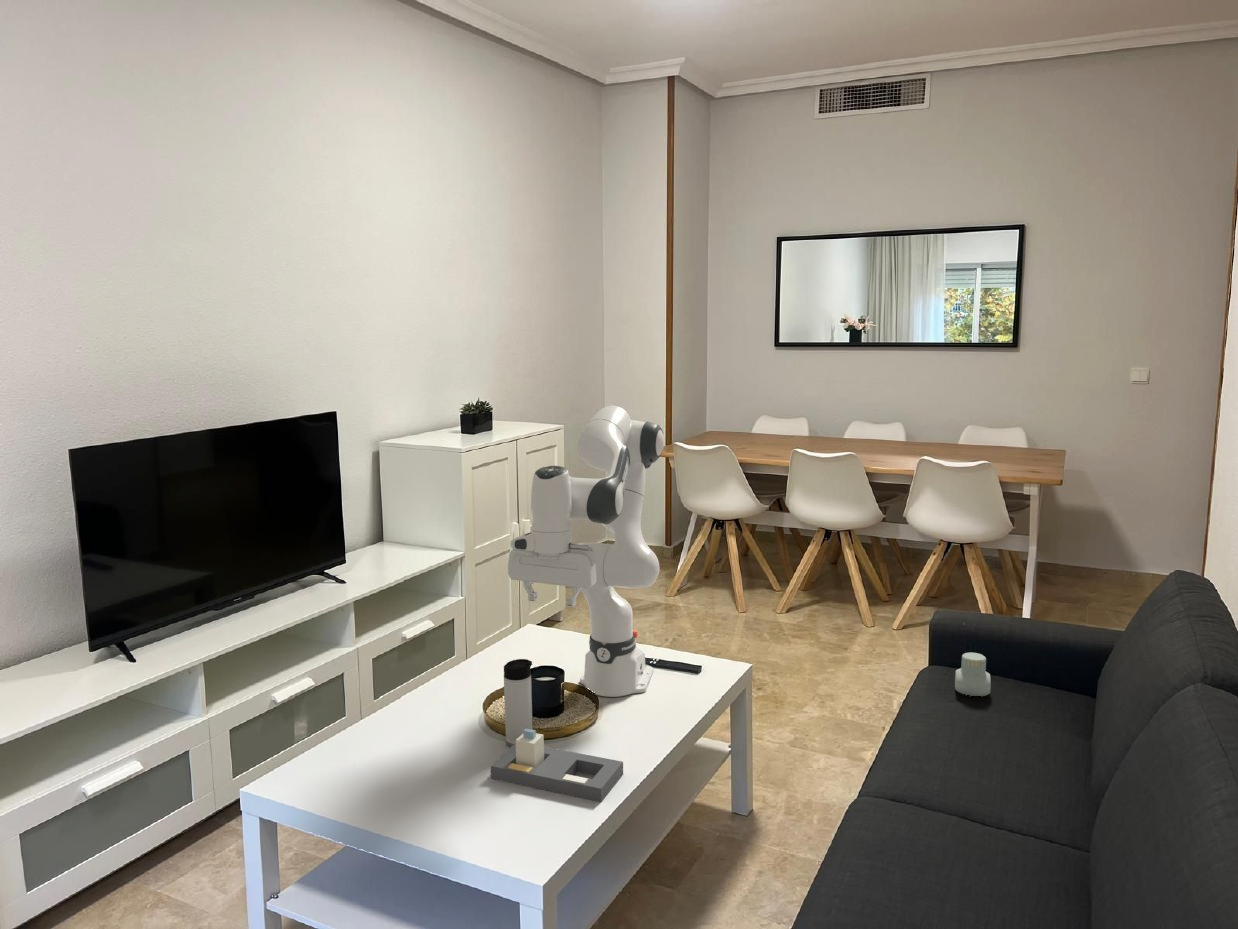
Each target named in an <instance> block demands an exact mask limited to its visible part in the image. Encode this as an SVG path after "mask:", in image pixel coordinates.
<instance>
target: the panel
mask: <svg viewBox="0 0 1238 929" xmlns="http://www.w3.org/2000/svg"><path fill="white" fill-rule="evenodd" d="M578 773H579V774H583V775H584V774H585V775H589V776H594V777H593V778H587V777H584V776H583V777H582V776H578V775H576V774H578ZM623 775H624V761H621V760H616V759H611V758H606V757H600V756H595V755H591V754H590V755H589V754H585V753H581V752H579V753H578V752H574V751H570V750H565V749H558V748H554V747H549V746H544V761H543V762H542V763H541V764H540V765H539V766H538V767H537V768H534V767H529V766H524V765H519V764H516V743H515V744H514V745H513V746H512V747H509V748H508V749H507V750H506V751H505V752H504V753H502V755H501V756H500V757H499V758H498V759H495V761H494V762H493V763H492V764H490V779H491V780H495V781H499V782H500V781H501V782H506V783H510V784H513V785H519V786H524V787H529V788H534V789H539V790H542V791H546V792H551V793H557V794H562V795H567V796H570V797H577V798H581V799H585V800H590V801H595V802H599V803H602V802H603V801H604V799H605V798H606V797H607V796H608V795H609V793H610V792H611V791H612V789H613V788H614V787H615V786H616V784H617V783H618V782H619V781H620V780H621V778H622V777H623Z"/></svg>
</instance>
